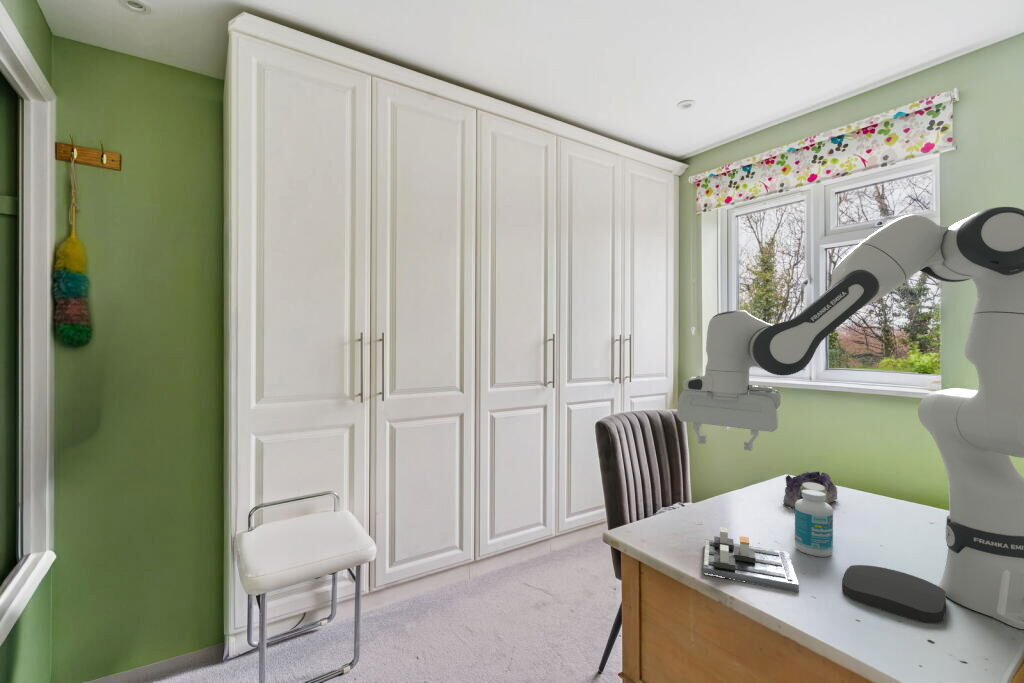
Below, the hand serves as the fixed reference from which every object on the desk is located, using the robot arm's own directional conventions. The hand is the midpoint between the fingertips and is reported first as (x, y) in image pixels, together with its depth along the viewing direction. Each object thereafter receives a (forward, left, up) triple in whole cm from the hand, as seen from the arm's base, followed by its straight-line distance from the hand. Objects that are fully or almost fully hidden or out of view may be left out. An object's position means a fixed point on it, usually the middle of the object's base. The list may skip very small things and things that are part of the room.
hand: (724, 446), depth 103 cm
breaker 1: (0, -5, -23) cm, 24 cm away
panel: (-4, +1, -25) cm, 26 cm away
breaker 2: (0, +6, -23) cm, 24 cm away
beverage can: (-21, -28, -25) cm, 43 cm away
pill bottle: (-19, -14, -25) cm, 35 cm away
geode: (-24, -53, -26) cm, 63 cm away
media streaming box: (-29, +3, -26) cm, 39 cm away
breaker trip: (-4, +1, -23) cm, 24 cm away
